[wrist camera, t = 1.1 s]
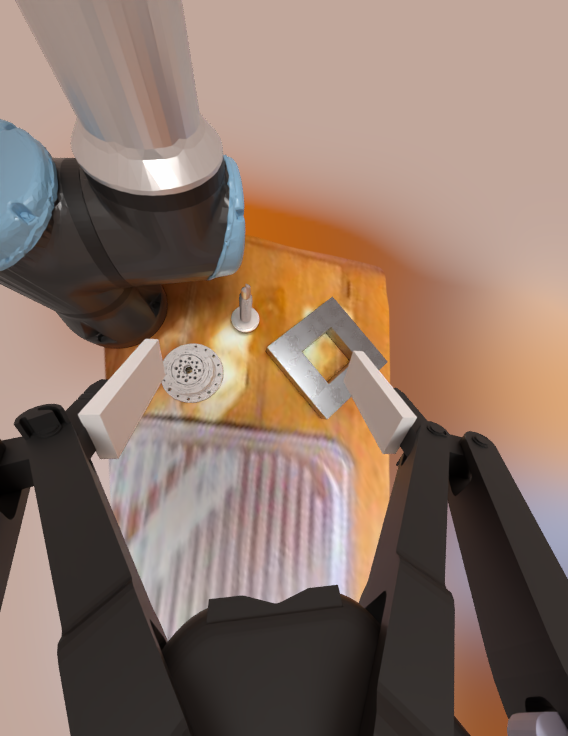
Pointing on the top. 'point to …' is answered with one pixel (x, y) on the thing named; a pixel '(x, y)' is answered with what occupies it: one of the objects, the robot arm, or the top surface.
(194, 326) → the top surface
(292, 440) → the top surface
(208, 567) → the top surface
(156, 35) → the robot arm
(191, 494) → the top surface
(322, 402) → the socket plate
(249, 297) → the screw
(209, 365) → the mechanical component
